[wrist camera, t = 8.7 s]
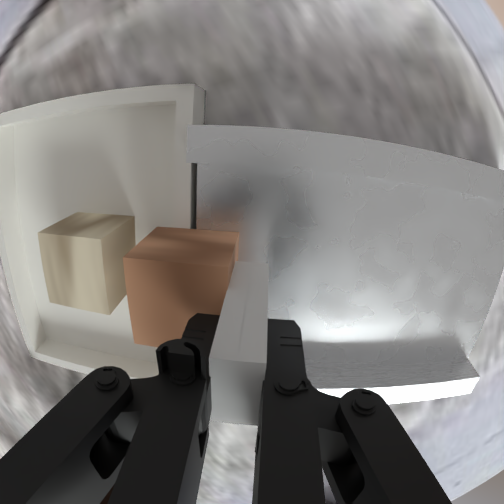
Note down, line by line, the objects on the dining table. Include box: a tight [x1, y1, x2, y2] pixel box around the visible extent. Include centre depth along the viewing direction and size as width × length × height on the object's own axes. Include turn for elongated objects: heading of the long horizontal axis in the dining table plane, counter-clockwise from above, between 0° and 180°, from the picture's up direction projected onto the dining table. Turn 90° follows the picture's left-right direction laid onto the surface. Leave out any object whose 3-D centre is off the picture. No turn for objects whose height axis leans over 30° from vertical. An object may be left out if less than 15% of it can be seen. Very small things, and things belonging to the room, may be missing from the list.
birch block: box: [38, 212, 136, 315], centre depth 16 cm, size 4×4×4 cm
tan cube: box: [123, 227, 239, 347], centre depth 14 cm, size 4×4×4 cm
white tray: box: [0, 83, 205, 379], centre depth 17 cm, size 14×18×2 cm
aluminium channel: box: [186, 125, 504, 404], centre depth 16 cm, size 18×14×4 cm
